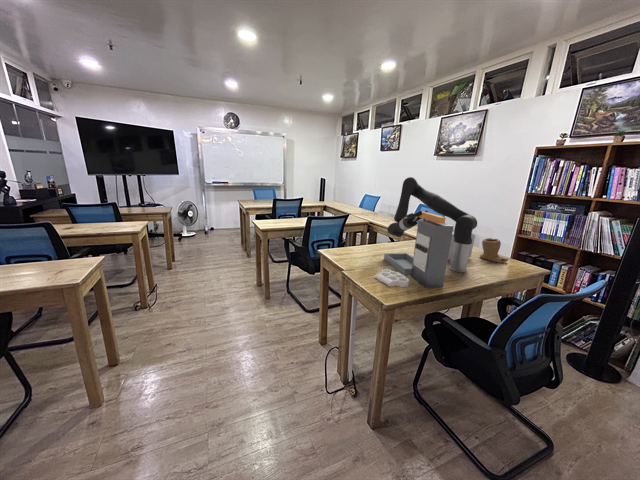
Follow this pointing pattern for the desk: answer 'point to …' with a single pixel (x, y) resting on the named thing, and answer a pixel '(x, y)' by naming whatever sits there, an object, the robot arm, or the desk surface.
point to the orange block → (432, 217)
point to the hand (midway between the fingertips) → (424, 212)
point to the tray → (400, 262)
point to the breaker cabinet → (431, 253)
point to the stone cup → (492, 250)
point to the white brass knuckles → (392, 278)
